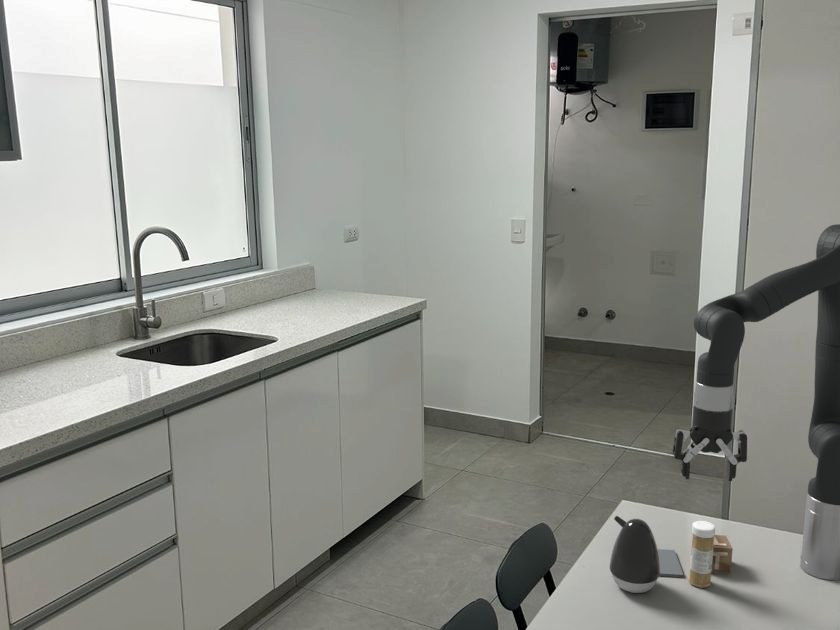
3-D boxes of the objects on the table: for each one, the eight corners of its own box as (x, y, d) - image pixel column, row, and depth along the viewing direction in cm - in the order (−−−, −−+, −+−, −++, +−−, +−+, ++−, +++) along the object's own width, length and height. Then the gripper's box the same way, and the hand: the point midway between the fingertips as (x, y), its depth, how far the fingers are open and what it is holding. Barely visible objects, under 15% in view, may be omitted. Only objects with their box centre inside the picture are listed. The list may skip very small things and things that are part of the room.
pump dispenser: (624, 568, 180) (628, 504, 177) (667, 586, 173) (672, 519, 170) (598, 586, 173) (601, 519, 170) (642, 605, 166) (646, 536, 163)
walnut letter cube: (723, 560, 184) (726, 534, 183) (730, 574, 178) (732, 548, 177) (696, 558, 185) (698, 533, 183) (702, 572, 179) (704, 546, 177)
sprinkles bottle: (696, 575, 177) (700, 517, 174) (715, 583, 174) (719, 525, 171) (684, 582, 174) (688, 524, 172) (703, 591, 171) (707, 532, 168)
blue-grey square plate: (674, 552, 187) (674, 550, 187) (683, 577, 176) (683, 574, 176) (625, 549, 188) (625, 547, 188) (631, 574, 178) (631, 571, 178)
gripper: (744, 399, 169) (738, 473, 172) (673, 397, 170) (669, 470, 174) (754, 411, 161) (748, 488, 165) (680, 408, 163) (675, 484, 166)
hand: (707, 478), depth 169 cm, fingers open, 8 cm apart
